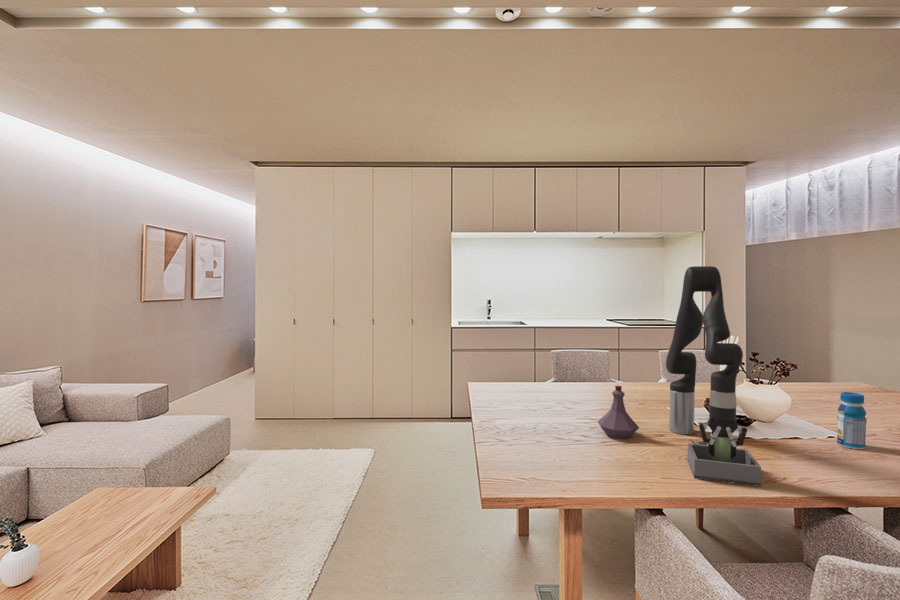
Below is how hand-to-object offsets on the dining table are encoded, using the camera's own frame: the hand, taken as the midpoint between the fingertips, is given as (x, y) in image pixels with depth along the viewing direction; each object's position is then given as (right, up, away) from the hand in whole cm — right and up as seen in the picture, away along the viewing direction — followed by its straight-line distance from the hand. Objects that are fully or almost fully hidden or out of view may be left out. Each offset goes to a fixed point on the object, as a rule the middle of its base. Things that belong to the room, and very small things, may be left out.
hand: (721, 456), depth 151 cm
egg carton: (+5, -5, +18) cm, 20 cm away
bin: (0, -5, 0) cm, 5 cm away
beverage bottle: (+63, -5, +25) cm, 68 cm away
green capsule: (0, -1, 0) cm, 1 cm away
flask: (-20, -4, +39) cm, 44 cm away
